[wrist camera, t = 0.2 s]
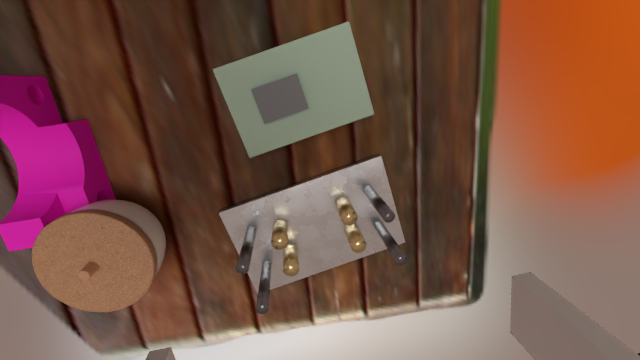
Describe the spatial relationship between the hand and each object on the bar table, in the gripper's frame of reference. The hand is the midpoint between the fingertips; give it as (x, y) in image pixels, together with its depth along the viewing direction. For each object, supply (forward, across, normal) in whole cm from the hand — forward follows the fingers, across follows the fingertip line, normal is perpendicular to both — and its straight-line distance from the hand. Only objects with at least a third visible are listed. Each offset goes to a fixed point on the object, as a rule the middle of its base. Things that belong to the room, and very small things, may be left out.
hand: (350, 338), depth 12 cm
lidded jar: (+26, -22, -4) cm, 34 cm away
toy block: (+27, -25, +7) cm, 37 cm away
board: (+21, 0, +9) cm, 23 cm away
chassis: (+26, 0, -8) cm, 27 cm away
